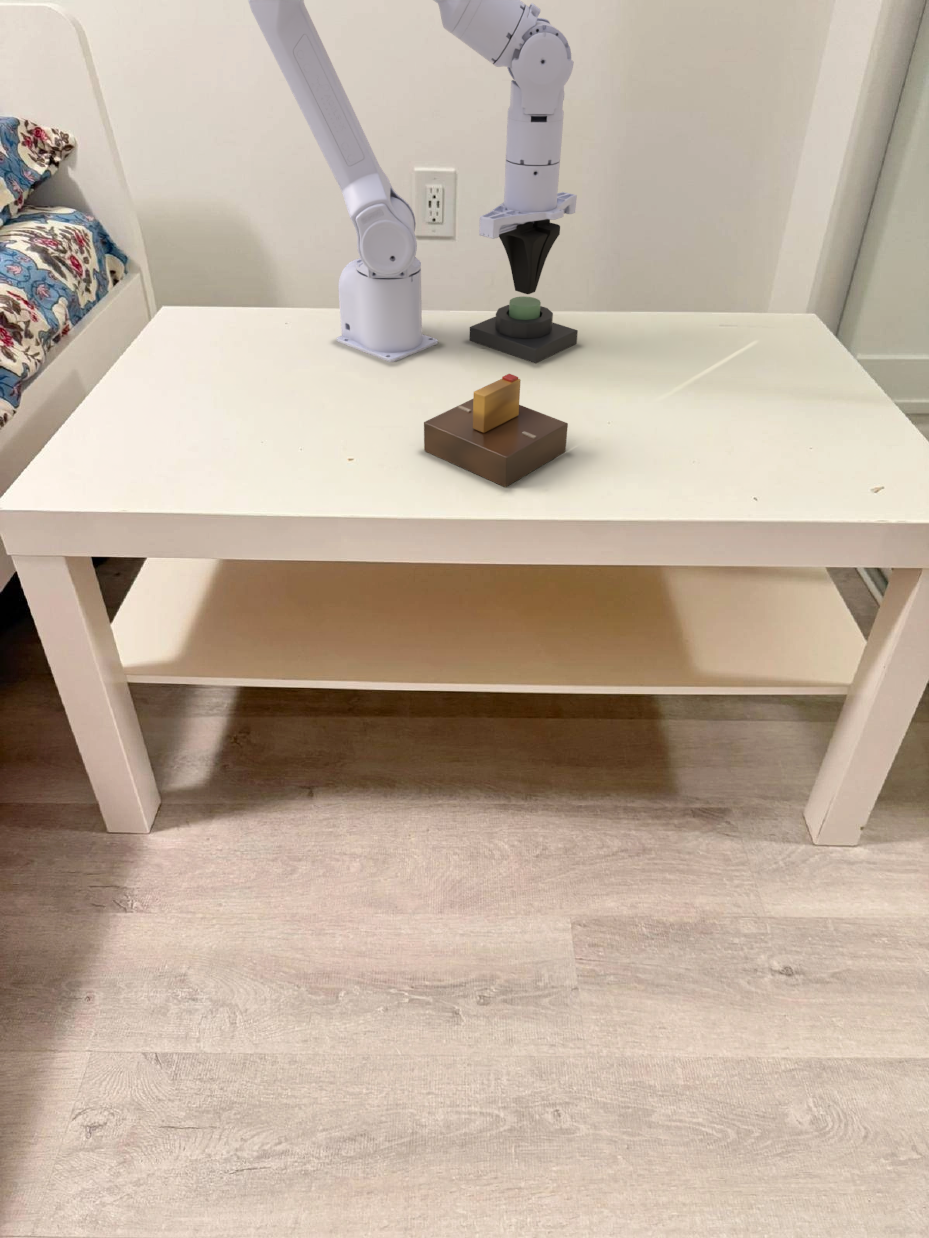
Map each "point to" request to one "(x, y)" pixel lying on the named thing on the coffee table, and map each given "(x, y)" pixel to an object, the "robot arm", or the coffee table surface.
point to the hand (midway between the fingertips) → (525, 291)
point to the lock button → (524, 308)
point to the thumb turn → (496, 403)
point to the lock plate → (496, 442)
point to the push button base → (524, 335)
